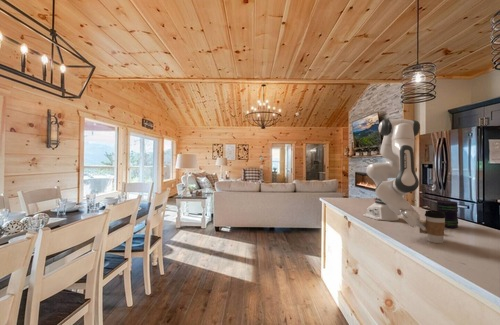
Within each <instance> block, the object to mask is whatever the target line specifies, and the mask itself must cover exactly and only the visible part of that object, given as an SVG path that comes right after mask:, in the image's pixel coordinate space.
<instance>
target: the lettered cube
mask: <svg viewBox="0 0 500 325" xmlns="http://www.w3.org/2000/svg"><path fill="white" fill-rule="evenodd" d="M419 220H420V221H421V222H422V223H423V224H424V225H425V226H426V219H419ZM418 229H419V233H420V234H426V235H428V234H427V227H426V229H425V230H422V229H421V228H420V227H418Z"/></svg>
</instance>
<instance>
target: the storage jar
mask: <svg viewBox="0 0 500 325" xmlns="http://www.w3.org/2000/svg"><path fill="white" fill-rule="evenodd" d="M458 206H459V205H458V202H457V201H452V200H437V201H436V211H441V212H445V216H446V218H445V229H451V230H452V229H454V230H456V229H459V218H458V211H459V210H458V209H459V207H458Z"/></svg>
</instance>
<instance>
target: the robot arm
mask: <svg viewBox="0 0 500 325" xmlns="http://www.w3.org/2000/svg"><path fill="white" fill-rule="evenodd" d="M420 130H421V124H420V122H419V120H414V119H405V118H399V119H398V118H391V119H389V118H385V119H382V120H381V121H380V122H379V125H378V133H379V134H380V135H381V136H383V139H382V143H381V146H380V155H381V157H382V158H385V162H374V163H373V162H372V163H369V164H368V165H367V167H366V170H365V171H366V176H368V177H369V178H370V179H371V180H373V182H374V184H375V189H374V193H375V195H376V198H374V202H373V203H372V204H371V205H369V206H368V207H367V209H366V212H365V213H363V215H362V216H363V217H366V218H370V219H373V220H376V221H393V222H394V221H399V216H401V218H402V219H403V220H404V221H405V222H406V223H407V224H408V225H409V226H410V227H412V228H414V227H418V228H419V227H420V228H421V229H422V230H425V229H426V226H425V225H424V224H423V223H422V222H421V221H420V220H421V215H420V214H419V212H418V211H417V210H416V209H415V208H414V207H413V206H412V204H411V203H410V202H409V201H408V200H407V199H406V198H404V196H405V195H408V194H409V193H411V192H414V191H416V190H417V189H418V187H419V185H420V181H419V178H418V176H417V174H416V171H415V157H414V152H415V138H416V137H417V136H418V135H419V133H420ZM388 179H391V180H388Z"/></svg>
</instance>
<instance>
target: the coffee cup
mask: <svg viewBox="0 0 500 325" xmlns="http://www.w3.org/2000/svg"><path fill="white" fill-rule="evenodd" d="M424 217H425V220H426V227H427V234H426V235H427V240H428V242H431V243H434V244H443V243H444V236H445V229H446V228H445V218H446V216H445V212H441V211H438V210H430V209H429V210H426V211H425V213H424Z"/></svg>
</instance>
